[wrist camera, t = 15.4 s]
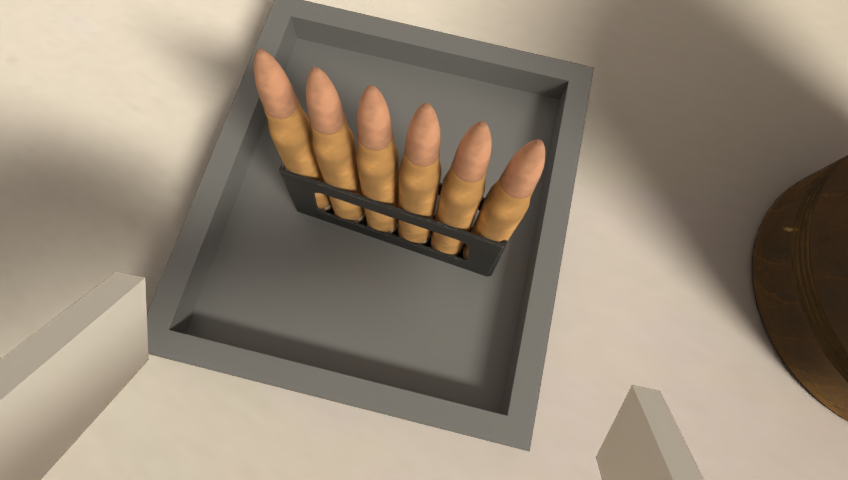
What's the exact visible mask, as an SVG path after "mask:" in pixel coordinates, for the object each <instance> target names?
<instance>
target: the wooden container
mask: <svg viewBox="0 0 848 480" xmlns="http://www.w3.org/2000/svg"><path fill="white" fill-rule="evenodd" d="M752 268H753V283H754V290H755V297H756V302H757V305H758V309H759V312H760V314H761V317H762V320H763V323H764V325H765V328H766V330H767V333H768V335H769V337H770V339H771V341H772V343H773V344H774V346H775V348H776V350H777V352H778V353H779V355H780V357H781V358H782V360H783V361H784V363H785V364H786V366H787V367H788V368H789V370H790V371H791V372H792V373H793V375H794V376H795V377H796V378H797V379H798V380H799V381H800V382H801V383H802V384H803V385H804V386H805V387H806V388H807V389H808V390H809V391H810V392H811V393H812V394H813V395H814V396H815V397H816V398H817V399H818V400H819V401H820V402H822V403H823V404H824V405H825V406H827V407H828V408H829V409H831V410H832V411H833V412H835V413H836V414H837V415H839V416H840V417H842V418H843V419H845V420H847V421H848V156H846V157H844V158H842V159H840V160H838V161H836V162H834V163H832V164H831V165H829V166H827V167H825V168H823V169H821V170H819V171H817V172H816V173H814V174H812V175H810V176H808V177H806V178H804V179H803V180H801V181H799V182H798V183H796V184H794V185H793V186H792V187H790V188H789V189H788V190H787V191H785V192H784V193H783V194H782V195H781V196H780V197H779V198H778V199H777V200H776V201H775V203H774V204H773V206H772V207H771V208H770V209H769V211H768V212H767V214H766V216H765V219H764V220H763V222H762V224H761V226H760V229H759V233H758V235H757V238H756V242H755V245H754V253H753V261H752Z"/></svg>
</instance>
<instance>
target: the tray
mask: <svg viewBox="0 0 848 480" xmlns="http://www.w3.org/2000/svg"><path fill="white" fill-rule="evenodd" d="M258 49H263V50H265V51H266V52H268V53H269V54H270V55H271V56H273V57H274V59H275V60H276V61H277V62H278V63H279V65H280V66H281V67H282V69H283V70H284V72H285V73H286V75H287V77H288V79H289V81H290V82H291V84H292V86H293V89H294V92H295V94H296V96H297V98H298V100H299V102H300V105H301V107H302V109H303V110H304V112H305V113H306V114H307V116H308V118H309V114H308V108H307V101H306V84H307V78H308V75H309V72H310V70H311V69H312V68H313V67H318V68H320V69H321V70H322V71H324V72H325V73H326V75H327V76H328V77H329V79H330V80H331V82H332V83H333V85H334V87H335V89H336V90H337V93H338V95H339V98H340V100H341V103H342V108H343V112H344V114H345V117H346V120H347V124H348V126H349V128H350V130H351V131H352V133H353V135H354V140H355V145H356V151H357V147H358V137H357V135H358V129H357V112H358V107H359V102H360V99H361V96H362V93H363V92H364V90H365V89H366V87H367V86H369V85H374V86H375V87H376V88H377V89H378V90H379V91H380V92H381V94H382V95H383V97H384V99H385V101H386V103H387V106H388V109H389V113H390V118H391V123H392V132H393V138H394V143H395V145H396V148H397V152H398V157H399V168H400V163H401V161H402V159H403V157H404V149H405V143H406V136H407V131H408V127H409V124H410V121H411V119H412V117H413V115H414V113H415V112H416V110H417V109H418V108H419V107H420V106H421V105H422V104H424V103H429V104H430V105H431V106H432V107H433V109H434V110H435V112H436V115H437V118H438V122H439V126H440V136H441V141H440V164H441V169H442V172H441V179H440V183H442V184H443V179H444V177H445V175H446V174H447V172H448V170H449V169H450V167H451V164H452V161H453V159H454V157H455V153H456V150H457V148H458V145H459V143H460V141H461V140H462V138H463V136H464V135H465V133H466V132H467V131H468V130H469V129H470V127H472V126H473V125H474V124H475V123H477V122H479V121H484V122H486V124H487V125H488V127H489V130H490V133H491V140H492V148H491V155H490V162H489V165H488V168H487V174H486V177H485V192H484V195H483V197H484V198H486V195H487V193H488V192H489V190H490V188H491V186H492V185H494V184H495V183H496V182H497V181H498V180H499V178H500V176H501V174H502V173H503V172H504V170H505V168H506V166H507V165H508V163H509V161H510V160H511V159H512V157H513V156H514V155H515V154H516V152H517V151H519V150H520V149H521V148H522V147H523V146H524V145H526V144H527V143H529V142H531V141H533V140H536V139H540V140H542V142H543V143H544V146H545V163H544V168H543V171H542V174H541V177H540V179H539V181H538V183H537V185H536V186H535V189H534V191H533V193H532V195H531V197H530V204H529V207H528V209H527V211H526V213H525V215H524V216H523V218H522V219H521V221H520V222H519V224H518V226H517V227H516V229H515V230H514V232H513V233H512V235H511V236H510V238H509V239H508V242H507V245H506V247H505V249H504V252H503V254H502V256H501V258H500V260H499V262H498V264H497V266H496V268H495V270H494V272H493V274H492V276H487V277H486V276H483V275H480V274H477V273H475V272H472V271H469V270H466V269H463V268H460V267H457V266H454V265H451V264H448V263H445V262H443V261H440V260H437V259H434V258H431V257H428V256H425V255H422V254H419V253H416V252H413V251H411V250H408V249H405V248H402V247H399V246H396V245H393V244H390V243H387V242H384V241H381V240H379V239H376V238H373V237H370V236H367V235H364V234H361V233H358V232H355V231H352V230H350V229H347V228H344V227H341V226H338V225H335V224H332V223H329V222H326V221H323V220H320V219H318V218H315V217H312V216H309V215H306V214H303V213H300V212H297V210H296V208H295V205H294V203H293V201H292V199H291V196H290V194H289V192H288V190H287V187H286V185H285V183H284V181H283V178H282V176H281V174H280V172H279V168H280V166H281V164H283V165H284V163H283V161H282V159H281V157H280V155H279V153H278V150H277V148H276V146H275V144H274V142H273V140H272V138H271V136H270V133H269V127H268V120H267V117H266V114H265V112H264V107H263V104H262V102H261V100H260V97H259V94H258V91H257V87H256V83H255V75H254V57H255V54H256V51H257V50H258ZM593 69H594V67H589V66H585V65H581V64H576V63H572V62H568V61H563V60H559V59H555V58H550V57H546V56H542V55H537V54H533V53H529V52H524V51H520V50H516V49H511V48H507V47H503V46H499V45H494V44H490V43H486V42H481V41H477V40H473V39H468V38H464V37H460V36H455V35H451V34H447V33H442V32H438V31H434V30H429V29H425V28H421V27H417V26H412V25H408V24H404V23H399V22H395V21H391V20H386V19H382V18H378V17H373V16H369V15H365V14H360V13H356V12H352V11H347V10H343V9H339V8H335V7H330V6H326V5H322V4H317V3H313V2H309V1H304V0H274V2H273V5H272V7H271V10H270V12H269V15H268V17H267V20H266V22H265V25H264V27H263V30H262V32H261V34H260V37H259V39H258V42H257V44H256V47H255V49H254V52H253V54H252V57H251V59H250V62H249V64H248V66H247V69H246V71H245V74H244V76H243V79H242V81H241V84H240V86H239V89H238V91H237V94H236V96H235V98H234V101H233V103H232V106H231V108H230V111H229V113H228V116H227V118H226V121H225V123H224V126H223V128H222V130H221V133H220V135H219V138H218V140H217V143H216V145H215V148H214V150H213V153H212V155H211V158H210V160H209V163H208V165H207V167H206V170H205V172H204V175H203V177H202V180H201V182H200V185H199V187H198V190H197V192H196V195H195V197H194V199H193V202H192V204H191V207H190V209H189V212H188V214H187V217H186V219H185V222H184V224H183V227H182V229H181V231H180V234H179V236H178V239H177V241H176V244H175V246H174V249H173V251H172V254H171V256H170V259H169V261H168V263H167V266H166V268H165V271H164V273H163V276H162V278H161V281H160V283H159V286H158V288H157V291H156V293H155V295H154V298H153V300H152V303H151V305H150V308H149V310H148V313H147V333H148V354H151V355H155V356H159V357H162V358H166V359H170V360H174V361H178V362H182V363H186V364H190V365H194V366H198V367H202V368H205V369H209V370H213V371H217V372H221V373H225V374H229V375H233V376H237V377H241V378H245V379H248V380H252V381H256V382H260V383H264V384H268V385H272V386H276V387H280V388H284V389H288V390H291V391H295V392H299V393H303V394H307V395H311V396H315V397H319V398H323V399H327V400H331V401H334V402H338V403H342V404H346V405H350V406H354V407H358V408H362V409H366V410H370V411H374V412H377V413H381V414H385V415H389V416H393V417H397V418H401V419H405V420H409V421H413V422H417V423H420V424H424V425H428V426H432V427H436V428H440V429H444V430H448V431H452V432H456V433H460V434H463V435H467V436H471V437H475V438H479V439H483V440H487V441H491V442H495V443H499V444H503V445H506V446H510V447H514V448H518V449H522V450H526V451H530V446H531V440H532V434H533V428H534V422H535V416H536V410H537V404H538V398H539V392H540V386H541V380H542V374H543V368H544V362H545V356H546V350H547V344H548V338H549V332H550V326H551V320H552V314H553V308H554V302H555V296H556V290H557V284H558V278H559V272H560V266H561V260H562V254H563V248H564V242H565V237H566V231H567V225H568V219H569V213H570V207H571V201H572V195H573V189H574V183H575V177H576V171H577V165H578V159H579V153H580V147H581V141H582V135H583V129H584V123H585V117H586V111H587V105H588V99H589V93H590V87H591V81H592V75H593ZM309 119H310V118H309ZM284 167H285V165H284ZM285 170H286V167H285ZM439 198H440V195H438V196H437V202H436V208H435V213H434V214H435V215H436V212H437V207H438V203H439ZM478 214H479V210H477V213H476V215H475V218H474V220H473V223H472V225H471V227H473V225H474V223H475V220H476V218H477V216H478Z"/></svg>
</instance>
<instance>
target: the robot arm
mask: <svg viewBox="0 0 848 480" xmlns="http://www.w3.org/2000/svg"><path fill="white" fill-rule="evenodd" d="M148 360H149V359H148V333H147V308H146V282H145V278H144V277H140V276H135V275H131V274H126V273H121V272H117V271H116V272H115V273H114V274H112V275H111V276H110V277H108V278H107V279H106V280H104V281H103V282H102V283H100V284H99V285H98V286H97V287H95V288H94V289H93V290H91V291H90V292H89V293H87V294H86V295H85V296H83V297H82V298H81V299H79V300H78V301H77V302H75V303H74V304H73V305H71V306H70V307H69V308H67V309H66V310H65V311H64V312H62V313H61V314H60V315H58V316H57V317H56V318H54V319H53V320H52V321H50V322H49V323H48V324H46V325H45V326H44V327H42V328H41V329H40V330H38V331H37V332H36V333H35V334H33V335H32V336H31V337H29V338H28V339H27V340H25V341H24V342H23V343H21V344H20V345H19V346H17V347H16V348H15V349H13V350H12V351H11V352H9V353H8V354H7V355H6V356H4V357H3V358H2V359H0V480H41V479H42V478H43V477H44V476H45V474H46V473H47V472H48V471H49V470H50V469H51V468H52V467H53V466H54V464H55V463H56V462H57V461H58V460H59V459H60V458H61V457H62V456H63V454H64V453H65V452H66V451H67V450H68V449H69V448H70V447H71V445H72V444H73V443H74V442H75V441H76V440H77V439H78V438H79V437H80V435H81V434H82V433H83V432H84V431H85V430H86V429H87V428H88V427H89V425H90V424H91V423H92V422H93V421H94V420H95V419H96V418H97V417H98V415H99V414H100V413H101V412H102V411H103V410H104V409H105V408H106V407H107V405H108V404H109V403H110V402H111V401H112V400H113V399H114V398H115V397H116V395H117V394H118V393H119V392H120V391H121V390H122V389H123V388H124V387H125V385H126V384H127V383H128V382H129V381H130V380H131V379H132V378H133V377H134V375H135V374H136V373H137V372H138V371H139V370H140V369H141V368H142V367H143V365H144V364H145V363H146V362H147V361H148ZM596 459H597V463H598V467H599V470H600V474H601V477H602V480H704V478H703V476H702V474H701V472H700V470H699V468H698V466H697V464H696V462H695V460H694V458H693V456H692V454H691V452H690V450H689V448H688V446H687V444H686V442H685V440H684V438H683V436H682V434H681V432H680V430H679V428H678V426H677V424H676V422H675V420H674V418H673V416H672V414H671V412H670V410H669V408H668V406H667V404H666V402H665V400H664V398H663V396H662V394H661V392H660V391H658V390H653V389H649V388H644V387H640V386H635V385H632V386H631V388H630V390H629V392H628V394H627V396H626V398H625V400H624V402H623V404H622V406H621V408H620V410H619V412H618V414H617V416H616V418H615V420H614V422H613V424H612V426H611V428H610V430H609V432H608V434H607V436H606V438H605V440H604V442H603V444H602V446H601V448H600V450H599V452H598V454H597V456H596Z"/></svg>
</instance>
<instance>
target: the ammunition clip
mask: <svg viewBox="0 0 848 480" xmlns="http://www.w3.org/2000/svg"><path fill="white" fill-rule="evenodd" d="M254 75H255V83H256V87H257V91H258V94H259V97H260V100H261V102H262V104H263V107H264V112H265V114H266V117H267V120H268V127H269V133H270V136H271V138H272V140H273V142H274V144H275V146H276V148H277V150H278V153H279V155H280V157H281V159H282V161H283V163H284V165H285V167H286V170H285V167H284V165H283V164H281V166H280V168H279V172H280V174H281V176H282V178H283V181H284V183H285V185H286V187H287V190H288V192H289V194H290V196H291V199H292V201H293V203H294V205H295V208H296V210H297V212H300V213H303V214H306V215H309V216H312V217H315V218H318V219H320V220H323V221H326V222H329V223H332V224H335V225H338V226H341V227H344V228H347V229H350V230H352V231H355V232H358V233H361V234H364V235H367V236H370V237H373V238H376V239H379V240H381V241H384V242H387V243H390V244H393V245H396V246H399V247H402V248H405V249H408V250H411V251H413V252H416V253H419V254H422V255H425V256H428V257H431V258H434V259H437V260H440V261H443V262H445V263H448V264H451V265H454V266H457V267H460V268H463V269H466V270H469V271H472V272H475V273H477V274H480V275H483V276H486V277H487V276H492V274H493V272H494V270H495V268H496V266H497V264H498V262H499V260H500V258H501V256H502V254H503V252H504V249H505V247H506V245H507V242H508V239H509V238H510V236H511V235H512V233H513V232H514V230H515V229H516V227H517V226H518V224H519V222H520V221H521V219H522V218H523V216H524V215H525V213H526V211H527V209H528V207H529V204H530V197H531V195H532V193H533V191H534V189H535V186H536V185H537V183H538V181H539V179H540V177H541V174H542V171H543V168H544V163H545V146H544V143H543V142H542V140H540V139H536V140H533V141H531V142H529V143H527V144H526V145H524V146H523V147H522V148H521V149H520V150H519V151H517V152H516V154H515V155H514V156H513V157H512V159H511V160H510V161H509V163H508V165H507V166H506V168H505V170H504V172H503V173H502V174H501V176H500V178H499V180H498V181H497V182H496V183H495V184H494V185H492V186H491V188H490V190H489V192H488V193H487V195H486V198H484V197H483V195H484V192H485V177H486V174H487V168H488V165H489V162H490V155H491V148H492V140H491V133H490V130H489V127H488V125H487V124H486V122H484V121H479V122H477V123H475V124H474V125H473V126H472V127H470V129H469V130H468V131H467V132H466V133H465V135H464V136H463V138H462V140H461V141H460V143H459V145H458V148H457V150H456V153H455V157H454V159H453V161H452V164H451V167H450V169H449V170H448V172H447V174H446V175H445V177H444V179H443V184H442V183H440V179H441V172H442V169H441V164H440V141H441V136H440V126H439V122H438V118H437V115H436V112H435V110H434V109H433V107H432V106H431V105H430V104H429V103H424V104H422V105H421V106H420V107H419V108H418V109H417V110H416V112H415V113H414V115H413V117H412V119H411V121H410V124H409V127H408V131H407V136H406V143H405V149H404V157H403V159H402V161H401V163H400V168H399V157H398V152H397V148H396V145H395V143H394V138H393V132H392V123H391V118H390V113H389V109H388V106H387V103H386V101H385V99H384V97H383V95H382V94H381V92H380V91H379V90H378V89H377V88H376V87H375V86H374V85H369V86H367V87H366V89H365V90H364V92H363V93H362V96H361V99H360V102H359V107H358V112H357V129H358V135H357V137H358V147H357V151H356V145H355V140H354V135H353V133H352V131H351V130H350V128H349V126H348V124H347V120H346V117H345V114H344V112H343V108H342V103H341V100H340V98H339V95H338V93H337V90H336V89H335V87H334V85H333V83H332V82H331V80H330V79H329V77H328V76H327V75H326V73H325V72H324V71H322V70H321V69H320V68H318V67H313V68H312V69H311V70H310V72H309V75H308V78H307V84H306V101H307V108H308V114H309V118H310V119H309V118H308V116H307V114H306V113H305V112H304V110H303V109H302V107H301V105H300V102H299V100H298V98H297V96H296V94H295V92H294V89H293V86H292V84H291V82H290V81H289V79H288V77H287V75H286V73H285V72H284V70H283V69H282V67H281V66H280V65H279V63H278V62H277V61H276V60H275V59H274V57H273V56H271V55H270V54H269V53H268V52H266V51H265V50H263V49H258V50H257V51H256V54H255V57H254ZM438 195H440V198H439V203H438V207H437V212H436V215H435V214H434V213H435V208H436V202H437V196H438ZM477 210H479V214H478V216H477V218H476V220H475V223H474V225H473V227H471V225H472V223H473V220H474V218H475V215H476V213H477Z"/></svg>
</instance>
